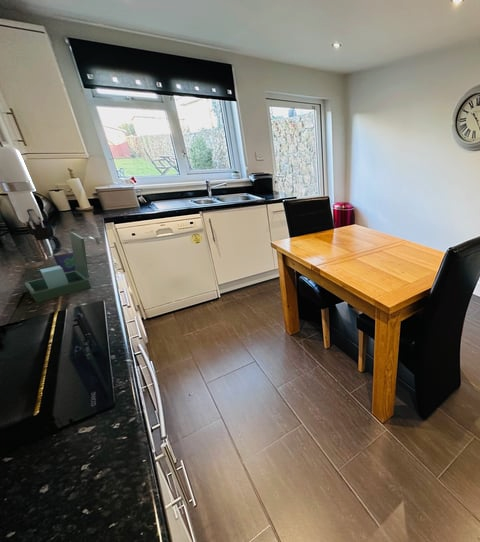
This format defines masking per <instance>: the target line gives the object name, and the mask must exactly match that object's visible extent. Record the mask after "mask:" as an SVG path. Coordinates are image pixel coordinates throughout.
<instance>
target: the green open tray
mask: <svg viewBox="0 0 480 542" xmlns="http://www.w3.org/2000/svg"><path fill="white" fill-rule="evenodd" d="M65 275H66V278H67V280H68V282H69V284H66V285H62V286H58V287H54V288H50V289H49V288H48V286H47V284H46V282H45V280H44V278H43V277H42V278H38V279H34V280H29V281H25V282H23V285H24V286H25V287H26V290H27V292H28V293H29V294H30V296H31V297H32V298H33V300H34V302H35V303H36V304H37V303H42V302H44V301H48V300H49V301H50V300H53V299H56V298H59V297H63V296H66V295H70V294H74V293H77V292H82V291H85V290H88V289H92V285H91V283H90V280H89V278H88V279H86V278H85V277H84V276H83V275H82V274H80V273H79V272H78V271H77V270H75V271H70V272H66V273H65Z"/></svg>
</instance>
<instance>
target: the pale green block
mask: <svg viewBox="0 0 480 542" xmlns="http://www.w3.org/2000/svg"><path fill="white" fill-rule="evenodd" d="M39 272H40V273H41V275H42V278H44V280H45V282H46V284H47V286H48V288H49V289H50V288H54V287H58V286H62V285H66V284H69V282H68V280H67V278H66V275H65V273H64V271H63V269H62V268H61V267H60V266H58V265H55V266H51V267H46V268H40V269H39Z"/></svg>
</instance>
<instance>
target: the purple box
mask: <svg viewBox="0 0 480 542" xmlns="http://www.w3.org/2000/svg"><path fill="white" fill-rule="evenodd" d="M53 258H54V261H55V263H56V266H60V267H61V268H62V269H63V271H64V273H67V272H72V271H76V269H75V264H74V257H73V250H70V248H69V247H67V248H64V251H60V252H57V253H55V254H53ZM87 265H88V263H87ZM88 266H89V265H88Z"/></svg>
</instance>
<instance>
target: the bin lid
mask: <svg viewBox="0 0 480 542" xmlns="http://www.w3.org/2000/svg"><path fill="white" fill-rule="evenodd" d="M69 237H70V244H71V249H72V250H71V251H73V257H74V264H75V269H76V270H77V271H78V272H79V273H80V274H82V275H83V276H84V277H85V278H86V279H88V280H89V279H90V274H89V265H87V264H88V259H87V251H86V244H85V243H93V244H94V243H96V242H97V239H95V238H94V237H92V236H87V237H82V236H81V235H79V234H77V233H75V232H74V231H69ZM76 270H75V271H76Z"/></svg>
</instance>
